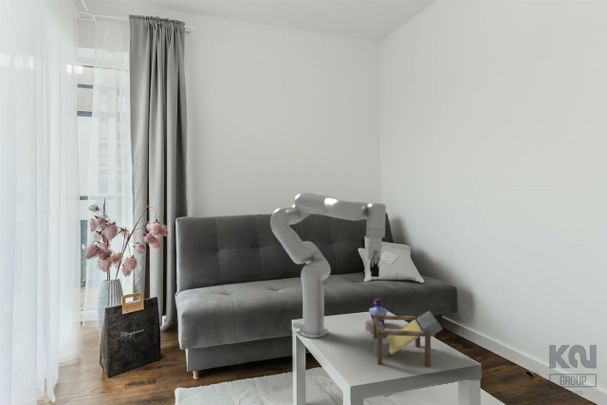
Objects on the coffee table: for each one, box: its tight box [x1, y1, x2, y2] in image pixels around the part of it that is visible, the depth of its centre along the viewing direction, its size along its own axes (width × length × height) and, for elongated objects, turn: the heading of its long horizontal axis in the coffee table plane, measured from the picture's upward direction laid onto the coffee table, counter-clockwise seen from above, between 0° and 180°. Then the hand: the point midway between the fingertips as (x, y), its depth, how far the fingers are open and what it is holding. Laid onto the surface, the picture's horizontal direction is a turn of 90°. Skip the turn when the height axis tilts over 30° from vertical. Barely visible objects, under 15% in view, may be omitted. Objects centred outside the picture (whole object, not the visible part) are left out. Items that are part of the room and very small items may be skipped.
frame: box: [372, 314, 432, 368], centre depth 140 cm, size 19×19×12 cm
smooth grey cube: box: [373, 338, 389, 357], centre depth 141 cm, size 5×5×5 cm
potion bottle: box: [369, 298, 388, 325], centre depth 174 cm, size 9×9×12 cm
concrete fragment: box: [365, 318, 389, 338], centre depth 162 cm, size 7×14×6 cm, turn 8°
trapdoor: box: [387, 310, 443, 356], centre depth 140 cm, size 21×14×4 cm
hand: (374, 274), depth 151 cm, fingers open, 9 cm apart
